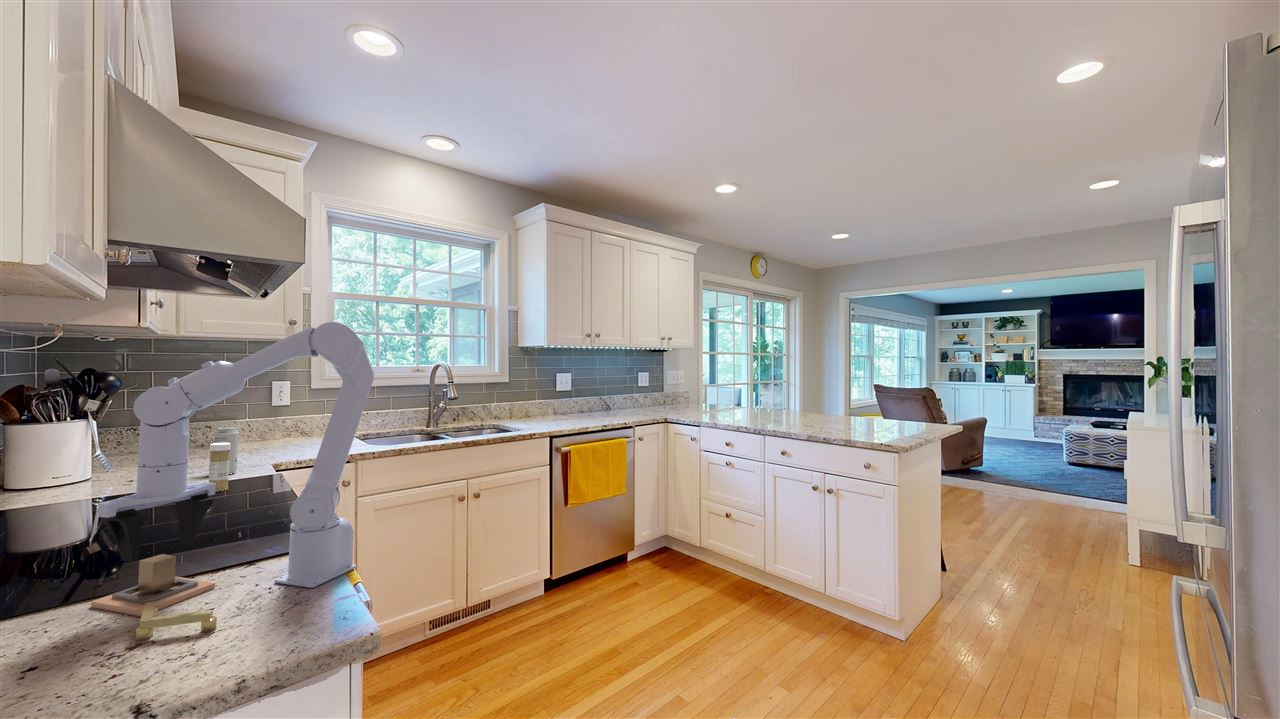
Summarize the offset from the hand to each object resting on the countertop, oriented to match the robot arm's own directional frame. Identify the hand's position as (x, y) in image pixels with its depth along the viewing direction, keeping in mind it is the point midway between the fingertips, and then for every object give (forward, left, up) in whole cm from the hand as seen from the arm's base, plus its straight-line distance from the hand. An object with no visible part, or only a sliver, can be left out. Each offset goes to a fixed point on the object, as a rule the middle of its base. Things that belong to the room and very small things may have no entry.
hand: (159, 551), depth 78 cm
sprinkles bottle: (-53, -59, -7) cm, 80 cm away
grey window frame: (0, 0, -6) cm, 6 cm away
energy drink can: (-70, -79, -7) cm, 106 cm away
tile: (0, 0, -7) cm, 7 cm away
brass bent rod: (+7, +12, -7) cm, 16 cm away
